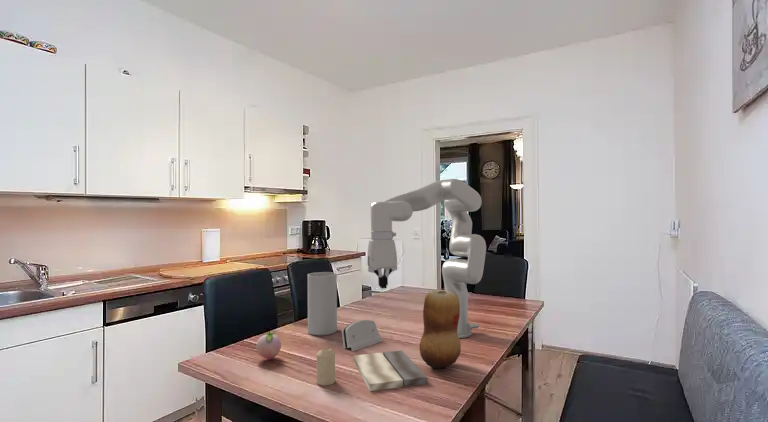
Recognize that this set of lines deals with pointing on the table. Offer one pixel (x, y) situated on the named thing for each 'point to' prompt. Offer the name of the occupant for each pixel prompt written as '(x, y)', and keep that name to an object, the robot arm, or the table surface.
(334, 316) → the cylinder vase
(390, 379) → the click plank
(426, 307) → the butternut squash
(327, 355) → the candle
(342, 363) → the table surface
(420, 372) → the floor board
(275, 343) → the decorative fruit
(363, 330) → the grey flat curved part
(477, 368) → the table surface
